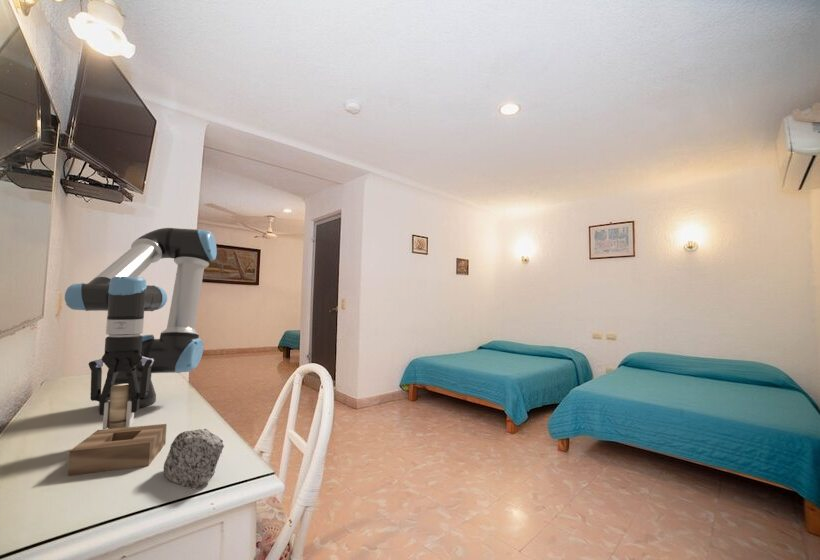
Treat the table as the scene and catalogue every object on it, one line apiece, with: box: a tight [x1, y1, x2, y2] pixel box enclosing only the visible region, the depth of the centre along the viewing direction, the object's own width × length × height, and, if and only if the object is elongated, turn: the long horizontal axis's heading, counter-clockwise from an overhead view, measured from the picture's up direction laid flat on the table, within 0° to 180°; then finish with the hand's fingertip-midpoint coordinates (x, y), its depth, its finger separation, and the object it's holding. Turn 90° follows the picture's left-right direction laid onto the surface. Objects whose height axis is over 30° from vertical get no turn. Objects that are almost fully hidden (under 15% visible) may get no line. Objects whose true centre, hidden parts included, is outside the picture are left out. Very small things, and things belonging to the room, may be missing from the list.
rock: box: [163, 428, 225, 490], centre depth 72 cm, size 16×8×10 cm, turn 47°
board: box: [67, 423, 168, 476], centre depth 80 cm, size 12×14×5 cm
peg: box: [107, 384, 130, 429], centre depth 89 cm, size 4×4×14 cm
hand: (118, 426), depth 89 cm, fingers closed on peg, 4 cm apart
